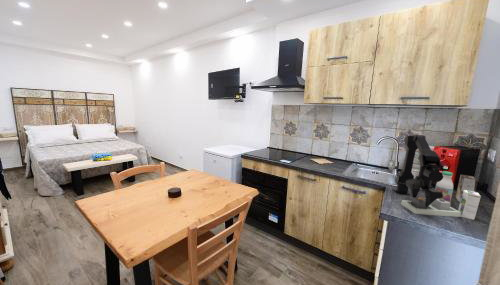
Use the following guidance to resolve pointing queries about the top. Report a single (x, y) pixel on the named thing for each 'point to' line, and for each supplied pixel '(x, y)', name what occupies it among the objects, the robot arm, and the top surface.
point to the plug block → (418, 203)
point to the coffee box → (466, 185)
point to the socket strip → (431, 210)
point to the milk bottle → (445, 186)
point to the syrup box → (469, 204)
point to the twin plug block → (441, 204)
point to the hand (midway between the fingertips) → (419, 202)
